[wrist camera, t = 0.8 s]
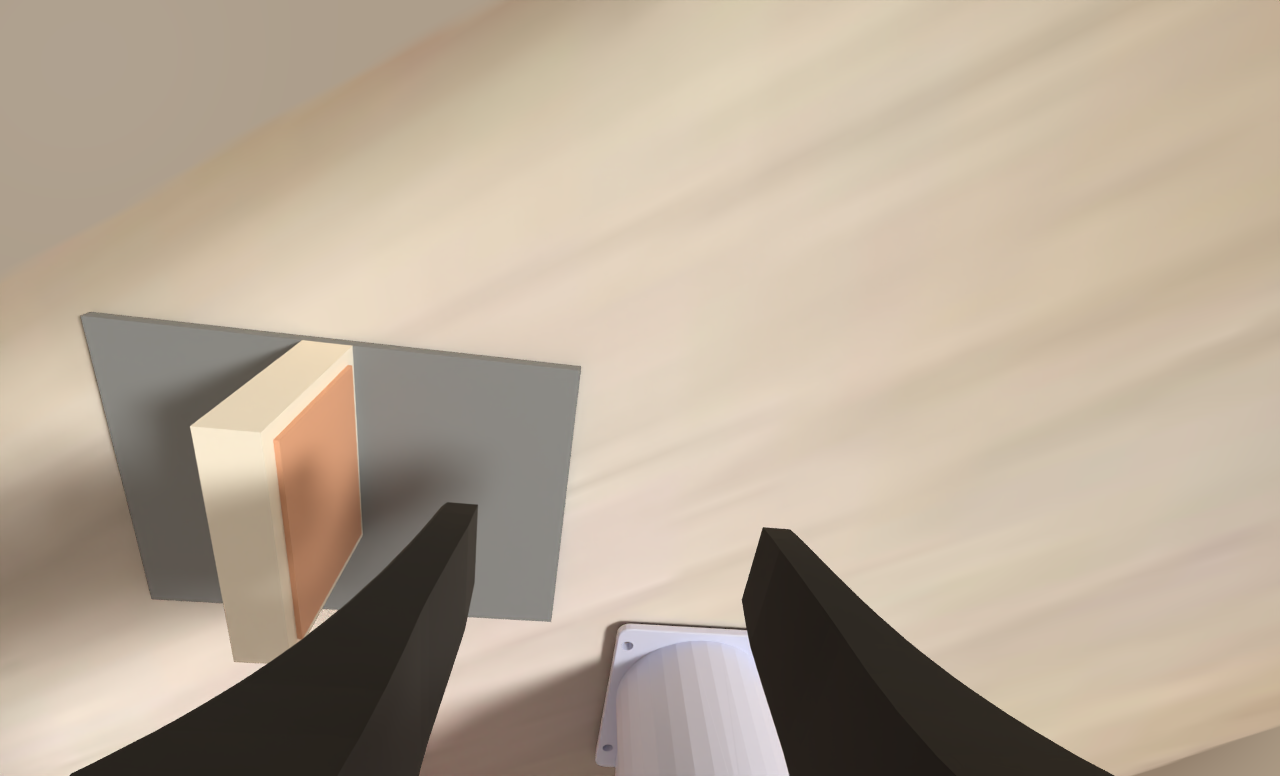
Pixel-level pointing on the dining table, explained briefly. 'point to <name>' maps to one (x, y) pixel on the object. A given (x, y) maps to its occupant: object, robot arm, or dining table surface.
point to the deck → (282, 495)
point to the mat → (387, 448)
